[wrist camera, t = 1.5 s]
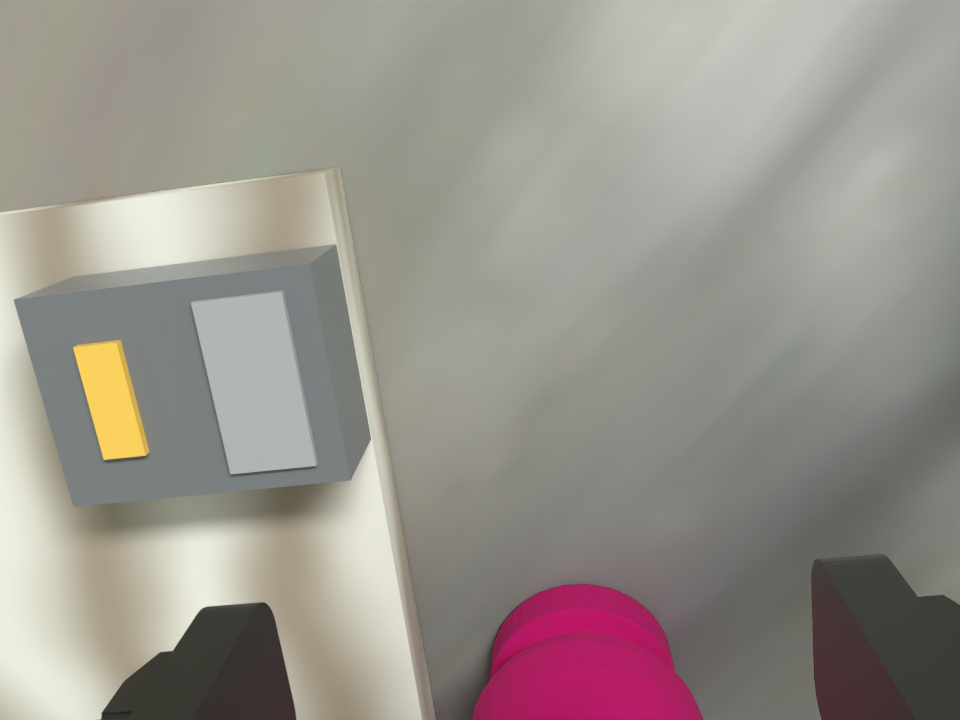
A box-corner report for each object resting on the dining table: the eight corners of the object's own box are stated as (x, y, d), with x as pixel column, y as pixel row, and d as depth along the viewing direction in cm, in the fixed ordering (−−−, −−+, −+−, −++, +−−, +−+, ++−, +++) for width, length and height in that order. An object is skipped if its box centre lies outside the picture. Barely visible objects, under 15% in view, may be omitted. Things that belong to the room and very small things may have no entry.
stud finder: (336, 244, 25) (307, 265, 22) (371, 438, 27) (348, 484, 24) (72, 276, 26) (7, 302, 23) (122, 463, 27) (68, 510, 24)
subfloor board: (340, 167, 26) (323, 173, 24) (448, 787, 33) (441, 833, 31) (-203, 239, 28) (-260, 250, 26) (0, 813, 35) (-33, 857, 33)
